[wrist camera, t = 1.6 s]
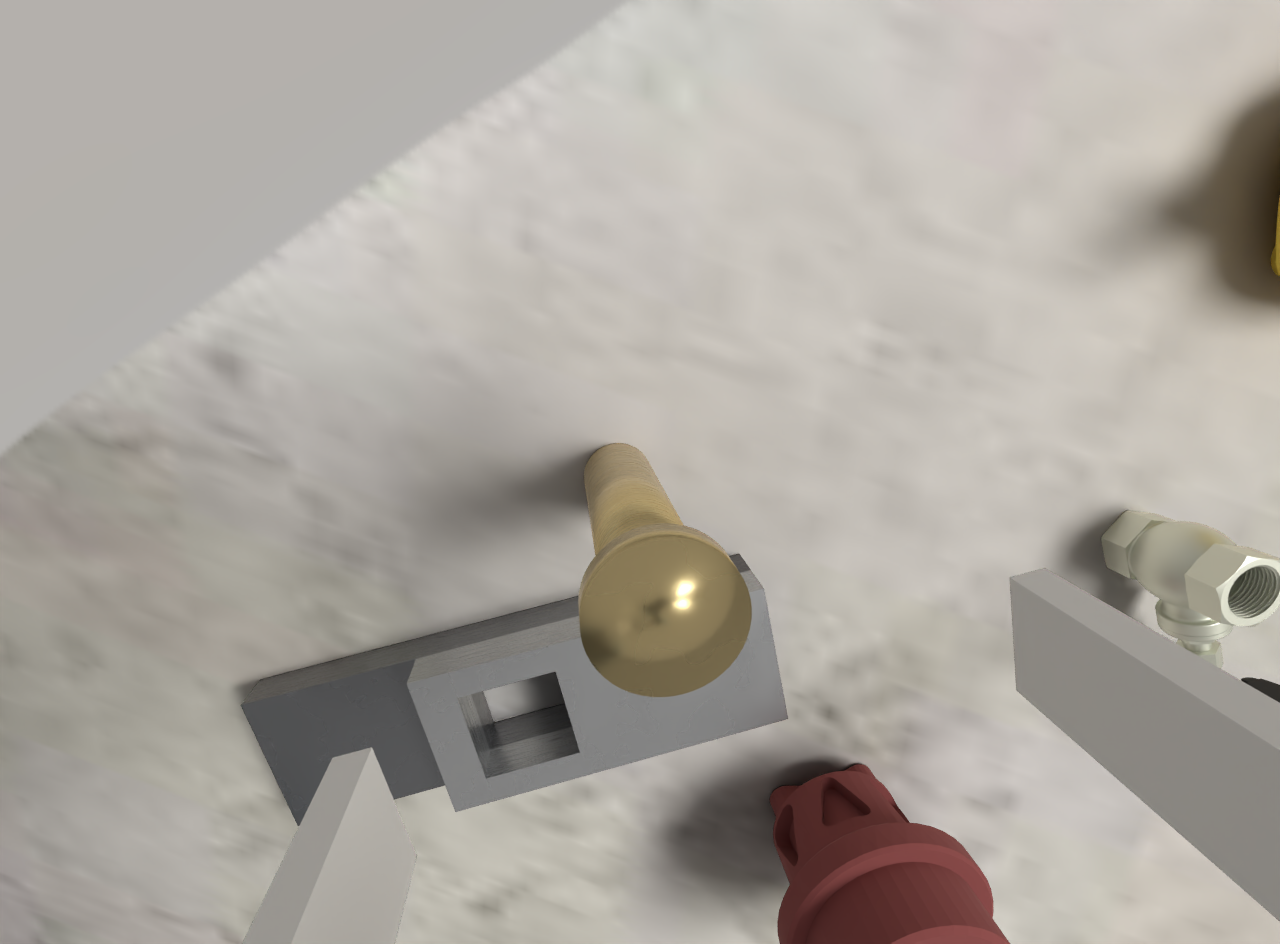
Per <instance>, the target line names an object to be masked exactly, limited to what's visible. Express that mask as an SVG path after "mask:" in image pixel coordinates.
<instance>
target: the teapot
mask: <svg viewBox="0 0 1280 944" xmlns="http://www.w3.org/2000/svg"><path fill="white" fill-rule="evenodd" d="M1271 267H1272V270H1273V271H1274V273H1275V274H1276V275H1278V276H1280V197H1279V204H1278V215H1277V228H1276V245H1275V247H1274V249H1273V252H1272V255H1271Z"/></svg>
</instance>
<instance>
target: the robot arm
mask: <svg viewBox="0 0 1280 944" xmlns="http://www.w3.org/2000/svg"><path fill="white" fill-rule="evenodd" d="M1010 594H1011V611H1012V627H1013V644H1014V661H1015V677H1016V690H1017V691H1018V692H1019V693H1020V694H1021V695H1022V696H1023V697H1025V698H1026V699H1027V700H1028V701H1029V702H1030V703H1031V704H1032V705H1034V706H1035V707H1036V708H1037V709H1038V710H1039V711H1040V712H1042V713H1043V714H1044V715H1045V716H1046V717H1047V718H1048V719H1050V720H1051V721H1052V722H1053V723H1054V724H1055V725H1056V726H1058V727H1059V728H1060V729H1061V730H1062V731H1063V732H1064V733H1066V734H1067V735H1068V736H1069V737H1070V738H1071V739H1072V740H1073V741H1075V742H1076V743H1077V744H1078V745H1079V746H1080V747H1081V748H1083V749H1084V750H1085V751H1086V752H1087V753H1088V754H1089V755H1091V756H1092V757H1093V758H1094V759H1095V760H1096V761H1097V762H1099V763H1100V764H1101V765H1102V766H1103V767H1104V768H1105V769H1107V770H1108V771H1109V772H1110V773H1111V774H1112V775H1113V776H1114V777H1116V778H1117V779H1118V780H1119V781H1120V782H1121V783H1122V784H1124V785H1125V786H1126V787H1127V788H1128V789H1129V790H1130V791H1132V792H1133V793H1134V794H1135V795H1136V796H1137V797H1138V798H1140V799H1141V800H1142V801H1143V802H1144V803H1145V804H1146V805H1148V806H1149V807H1150V808H1151V809H1152V810H1153V811H1154V812H1155V813H1157V814H1158V815H1159V816H1160V817H1161V818H1162V819H1163V820H1165V821H1166V822H1167V823H1168V824H1169V825H1170V826H1171V827H1173V828H1174V829H1175V830H1176V831H1177V832H1178V833H1179V834H1181V835H1182V836H1183V837H1184V838H1185V839H1186V840H1187V841H1189V842H1190V843H1191V844H1192V845H1193V846H1194V847H1195V848H1196V849H1198V850H1199V851H1200V852H1201V853H1202V854H1203V855H1204V856H1206V857H1207V858H1208V859H1209V860H1210V861H1211V862H1212V863H1214V864H1215V865H1216V866H1217V867H1218V868H1219V869H1220V870H1222V871H1223V872H1224V873H1225V874H1226V875H1227V876H1228V877H1230V878H1231V879H1232V880H1233V881H1234V882H1235V883H1236V884H1237V885H1239V886H1240V887H1241V888H1242V889H1243V890H1244V891H1245V892H1247V893H1248V894H1249V895H1250V896H1251V897H1252V898H1253V899H1255V900H1256V901H1257V902H1258V903H1259V904H1260V905H1261V906H1263V907H1264V908H1265V909H1266V910H1267V911H1268V912H1269V913H1271V914H1272V915H1273V916H1274V917H1275V918H1276V919H1277V920H1278V921H1280V685H1278V684H1275V683H1272V682H1269V681H1267V680H1264V679H1258V680H1255V681H1251V682H1247V683H1244V682H1243V681H1241V680H1239V679H1237V678H1236V677H1234V676H1232V675H1230V674H1229V673H1227V672H1225V671H1223V670H1222V669H1220V668H1218V667H1216V666H1215V665H1213V664H1211V663H1209V662H1208V661H1206V660H1204V659H1203V658H1201V657H1199V656H1197V655H1196V654H1194V653H1192V652H1190V651H1189V650H1187V649H1185V648H1183V647H1182V646H1180V645H1178V644H1176V643H1175V642H1173V641H1171V640H1169V639H1168V638H1166V637H1164V636H1162V635H1161V634H1159V633H1157V632H1155V631H1154V630H1152V629H1150V628H1149V627H1147V626H1145V625H1143V624H1142V623H1140V622H1138V621H1136V620H1135V619H1133V618H1131V617H1129V616H1128V615H1126V614H1124V613H1122V612H1121V611H1119V610H1117V609H1115V608H1114V607H1112V606H1110V605H1108V604H1107V603H1105V602H1103V601H1101V600H1100V599H1098V598H1096V597H1094V596H1093V595H1091V594H1089V593H1088V592H1086V591H1084V590H1082V589H1081V588H1079V587H1077V586H1075V585H1074V584H1072V583H1070V582H1068V581H1067V580H1065V579H1063V578H1061V577H1060V576H1058V575H1056V574H1054V573H1053V572H1051V571H1049V570H1047V569H1046V568H1043V569H1039V570H1035V571H1031V572H1028V573H1024V574H1020V575H1016V576H1013V577H1010ZM416 858H417V854H416V852H415V849H414V847H413V845H412V842H411V840H410V837H409V835H408V833H407V830H406V828H405V825H404V823H403V821H402V818H401V816H400V813H399V811H398V809H397V806H396V804H395V801H394V799H393V797H392V794H391V792H390V789H389V787H388V785H387V782H386V780H385V777H384V775H383V773H382V770H381V768H380V765H379V763H378V761H377V758H376V756H375V753H374V751H373V749H372V747H371V748H367V749H363V750H360V751H356V752H352V753H348V754H345V755H341V756H337V757H333V758H332V760H331V762H330V764H329V766H328V768H327V770H326V772H325V774H324V776H323V779H322V781H321V783H320V785H319V787H318V789H317V791H316V793H315V795H314V797H313V799H312V801H311V803H310V805H309V807H308V809H307V811H306V813H305V815H304V818H303V820H302V822H301V824H300V826H299V828H298V830H297V832H296V834H295V836H294V838H293V840H292V842H291V844H290V846H289V848H288V850H287V852H286V855H285V857H284V859H283V861H282V863H281V865H280V867H279V869H278V871H277V873H276V875H275V877H274V879H273V881H272V883H271V885H270V887H269V889H268V891H267V894H266V896H265V898H264V900H263V902H262V904H261V906H260V908H259V910H258V912H257V914H256V916H255V918H254V920H253V922H252V924H251V926H250V928H249V931H248V933H247V935H246V937H245V939H244V941H243V943H242V944H395V941H396V937H397V933H398V929H399V925H400V921H401V917H402V913H403V910H404V906H405V902H406V898H407V894H408V890H409V886H410V882H411V878H412V874H413V870H414V866H415V862H416Z"/></svg>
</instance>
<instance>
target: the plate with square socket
mask: <svg viewBox="0 0 1280 944" xmlns="http://www.w3.org/2000/svg"><path fill="white" fill-rule="evenodd" d="M729 557H730V559H731V560H732V562H733V563H734V565H735V566H736V568H737V569H738V571H739V572H740V574H741V576H742V577H743V579H744V581H745V583H746V585H747V588H748V591H749V594H750V598H751V606H752V620H751V626H750V631H749V634H748V637H747V640H746V642H745V644H744V647H743V649H742V650H741V652H740V654H739V655H738V657H737V658H736V659H735V661H734V662H733V663H732V664H731V666H730V667H729V668H728V669H727V670H726V671H725V672H724V673H723V674H721V675H720V676H719V677H717V678H716V679H715V680H713V681H712V682H710V683H708V684H707V685H705V686H703V687H701V688H699V689H697V690H694V691H692V692H689V693H686V694H682V695H677V696H670V697H648V696H641V695H637V694H633V693H630V692H628V691H625V690H623V689H621V688H619V687H617V686H615V685H613V684H612V683H611V682H609V681H608V680H607V679H605V678H604V677H603V676H602V675H601V674H600V673H599V672H598V671H597V670H596V669H595V667H594V666H593V665H592V663H591V662H590V660H589V658H588V656H587V655H586V652H585V650H584V647H583V644H582V640H581V635H580V623H579V609H578V598H579V596H577V597H573V598H570V599H566V600H562V601H558V602H554V603H551V604H547V605H543V606H539V607H535V608H532V609H528V610H524V611H520V612H516V613H513V614H509V615H505V616H501V617H497V618H494V619H490V620H486V621H482V622H478V623H475V624H471V625H467V626H463V627H459V628H456V629H452V630H448V631H444V632H440V633H437V634H433V635H429V636H425V637H421V638H417V639H414V640H410V641H406V642H402V643H398V644H395V645H391V646H387V647H383V648H379V649H376V650H372V651H368V652H364V653H360V654H357V655H353V656H349V657H345V658H341V659H338V660H334V661H330V662H326V663H322V664H319V665H315V666H311V667H307V668H303V669H300V670H296V671H292V672H288V673H284V674H281V675H277V676H273V677H269V678H265V679H262V680H260V681H259V682H258V683H257V685H256V686H255V687H254V688H253V690H252V691H251V692H250V694H249V695H248V696H247V698H246V699H245V700H244V702H243V703H242V704H241V707H242V709H243V711H244V713H245V715H246V718H247V720H248V722H249V724H250V726H251V728H252V730H253V732H254V734H255V736H256V739H257V741H258V743H259V745H260V747H261V749H262V751H263V753H264V755H265V758H266V760H267V762H268V764H269V766H270V768H271V770H272V772H273V774H274V777H275V779H276V781H277V783H278V785H279V787H280V789H281V791H282V793H283V796H284V798H285V800H286V802H287V804H288V806H289V808H290V810H291V812H292V814H293V817H294V819H295V821H296V823H297V825H298V826H300V824H301V822H302V820H303V818H304V815H305V813H306V811H307V809H308V807H309V805H310V803H311V801H312V799H313V797H314V795H315V793H316V791H317V789H318V787H319V785H320V783H321V781H322V779H323V776H324V774H325V772H326V770H327V768H328V766H329V764H330V762H331V760H332V758H333V757H337V756H341V755H345V754H348V753H352V752H356V751H360V750H363V749H367V748H371V747H372V749H373V751H374V753H375V756H376V758H377V761H378V763H379V765H380V768H381V770H382V773H383V775H384V777H385V780H386V782H387V785H388V787H389V789H390V792H391V794H392V797H393V799H397V798H401V797H405V796H408V795H412V794H415V793H419V792H423V791H426V790H430V789H433V788H437V787H441V786H444V785H445V786H446V788H447V791H448V794H449V796H450V799H451V801H452V804H453V807H454V809H455V812H457V811H461V810H464V809H468V808H472V807H475V806H479V805H482V804H486V803H489V802H493V801H497V800H500V799H504V798H507V797H511V796H514V795H518V794H522V793H525V792H529V791H532V790H536V789H539V788H543V787H547V786H550V785H554V784H557V783H561V782H564V781H568V780H572V779H575V778H579V777H582V776H586V775H589V774H593V773H597V772H600V771H604V770H607V769H611V768H614V767H618V766H622V765H625V764H629V763H632V762H636V761H639V760H643V759H647V758H650V757H654V756H657V755H661V754H664V753H668V752H672V751H675V750H679V749H682V748H686V747H689V746H693V745H697V744H700V743H704V742H707V741H711V740H714V739H718V738H722V737H725V736H729V735H732V734H736V733H739V732H743V731H747V730H750V729H754V728H757V727H761V726H764V725H768V724H772V723H775V722H779V721H782V720H786V719H788V716H787V710H786V705H785V699H784V694H783V689H782V683H781V678H780V673H779V667H778V662H777V656H776V651H775V646H774V640H773V635H772V630H771V624H770V619H769V613H768V608H767V603H766V597H765V592H764V588H763V587H762V585H761V584H760V582H759V581H758V579H757V578H756V577H755V575H754V574H753V572H752V571H751V570H750V568H749V567H748V565H747V564H746V563H745V561H744V560H743V558H742V557H741V555H740V554H737V555H733V556H729ZM555 671H556V675H557V678H558V681H559V685H560V688H561V691H562V695H563V698H564V701H565V704H562V705H558V706H554V707H551V708H547V709H543V710H540V711H536V712H532V713H529V714H525V715H521V716H518V717H514V718H510V719H507V720H503V721H499V722H496V723H494V722H493V719H492V716H491V713H490V710H489V707H488V704H487V701H486V699H485V696H484V693H483V691H485V690H489V689H492V688H496V687H500V686H504V685H507V684H511V683H515V682H518V681H522V680H526V679H530V678H533V677H537V676H541V675H544V674H548V673H552V672H555Z"/></svg>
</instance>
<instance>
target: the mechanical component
mask: <svg viewBox="0 0 1280 944" xmlns="http://www.w3.org/2000/svg"><path fill="white" fill-rule="evenodd" d="M770 804H771V806H772V809H773V811H774V813H775V816H776V819H775V823H774V829H773V838H774V844H775V847H776V850H777V852H778V855H779V857H780V860H781V862H782V865H783V867H784V870H785V872H786V875H787V878H788V880H789V883H790V885H789V887H788V889H787V891H786V893H785V895H784V898H783V900H782V904H781V907H780V910H779V916H778V937H779V941H780V944H1010V943H1009V942H1008V940H1007V939H1006V937H1005V936H1004V934H1003V933H1002V932H1001V930H1000V929H999V927H998V926H997V924H996V923H995V922H994V920H993V919H992V917H993V897H992V892H991V888H990V886H989V883H988V881H987V879H986V877H985V876H984V874H983V872H982V871H981V869H980V868H979V867H978V865H977V864H976V863H975V861H974V860H973V859H972V857H971V856H970V855H969V853H968V852H967V851H966V850H965V848H964V847H963V846H962V845H961V844H960V843H959V842H958V841H957V840H956V839H955V838H953V837H952V836H950V835H948V834H947V833H945V832H943V831H941V830H939V829H936V828H933V827H931V826H926V825H922V824H917V823H910V822H909V821H908V820H907V818H906V817H905V815H904V814H903V813H902V811H901V810H900V809H899V808H898V806H897V805H896V803H895V801H894V799H893V797H892V796H891V794H890V793H889V791H888V790H887V789H886V787H885V786H884V785H883V784H882V783H881V782H879V781H878V780H877V779H876V778H875V776H874V775H873V773H872V772H871V770H870V769H869V768H868V767H867V766H865V765H862V764H857V765H854V766H851V767H850V768H848V769H846V770H845V771H835V772H831V773H826V774H823V775H820V776H818V777H815V778H813V779H811V780H809V781H808V782H806V783H804V784H803V785H800V786H781V787H779V788H777V789H775V790H774V791H773V792H772V794H771V796H770Z"/></svg>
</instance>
